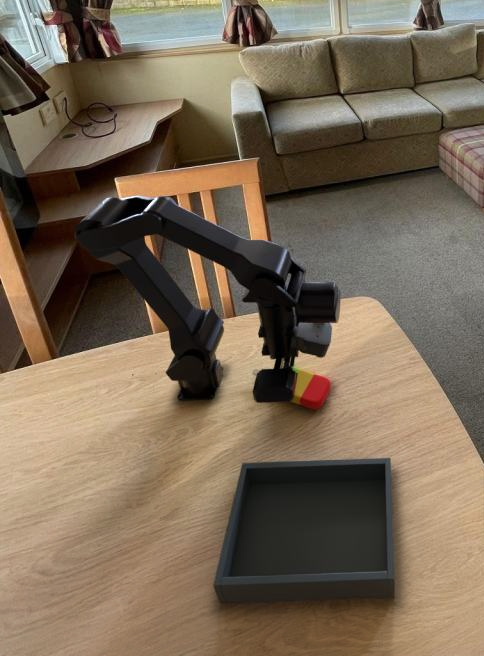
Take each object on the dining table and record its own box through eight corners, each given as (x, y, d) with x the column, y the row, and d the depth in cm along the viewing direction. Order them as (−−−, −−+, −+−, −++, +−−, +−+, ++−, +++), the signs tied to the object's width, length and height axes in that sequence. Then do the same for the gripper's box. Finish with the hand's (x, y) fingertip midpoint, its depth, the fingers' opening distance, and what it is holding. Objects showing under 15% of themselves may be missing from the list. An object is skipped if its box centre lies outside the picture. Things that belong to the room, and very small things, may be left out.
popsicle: (319, 412, 82) (318, 405, 81) (244, 387, 87) (243, 379, 86) (333, 385, 86) (332, 378, 86) (261, 362, 91) (260, 355, 90)
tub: (219, 604, 59) (213, 585, 57) (247, 481, 72) (242, 462, 70) (395, 597, 60) (394, 579, 58) (391, 476, 72) (390, 457, 70)
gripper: (321, 363, 71) (329, 431, 78) (331, 276, 88) (337, 338, 94) (245, 365, 71) (259, 433, 78) (269, 278, 88) (280, 340, 94)
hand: (288, 381), depth 86 cm, fingers closed on popsicle, 6 cm apart
